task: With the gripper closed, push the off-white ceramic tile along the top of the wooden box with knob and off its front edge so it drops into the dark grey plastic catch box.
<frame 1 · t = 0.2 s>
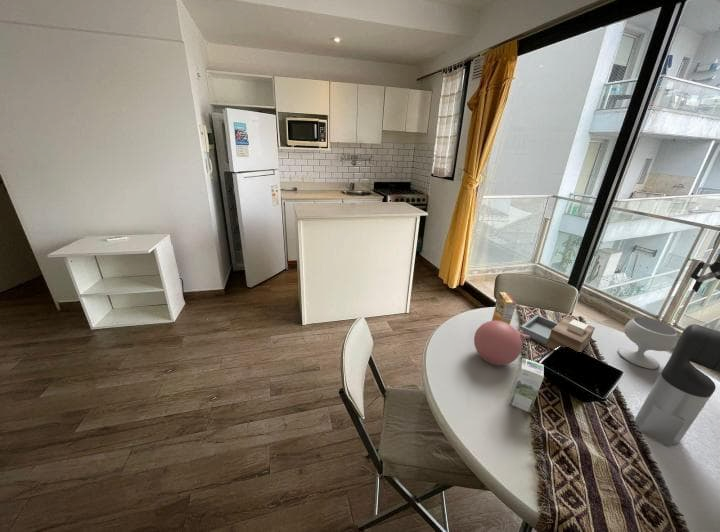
hand: (714, 296, 97), 29 cm above the table, tool pointing down, fingers open, 8 cm apart
catch box: (539, 332, 124), on the table
syrup box: (519, 403, 89), on the table
pink egg-shaped ball: (498, 359, 107), on the table
candy box: (498, 328, 126), on the table
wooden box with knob: (567, 345, 117), on the table
tile: (576, 329, 113), point 8 cm above the table, touching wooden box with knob
chalice: (637, 358, 111), on the table
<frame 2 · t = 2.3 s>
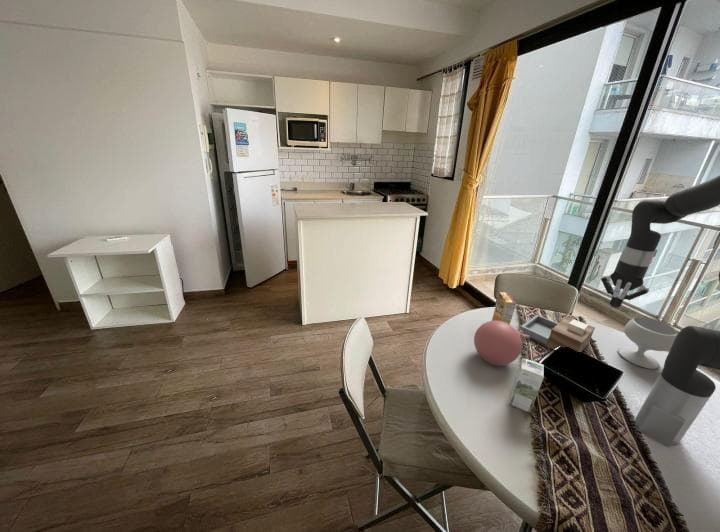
hand: (614, 306, 102), 22 cm above the table, tool pointing down, fingers closed
nothing on the table moved.
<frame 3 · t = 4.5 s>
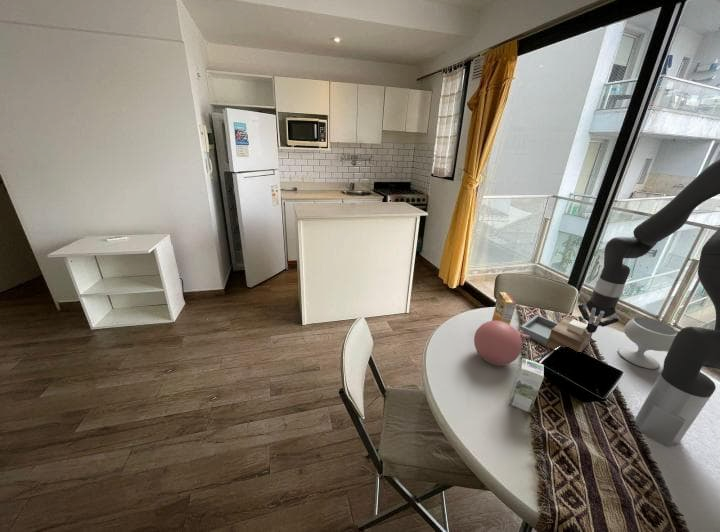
hand: (590, 331, 110), 9 cm above the table, tool pointing down, fingers closed
tile: (576, 329, 113), point 8 cm above the table, touching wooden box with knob, gripper
everything else where it was.
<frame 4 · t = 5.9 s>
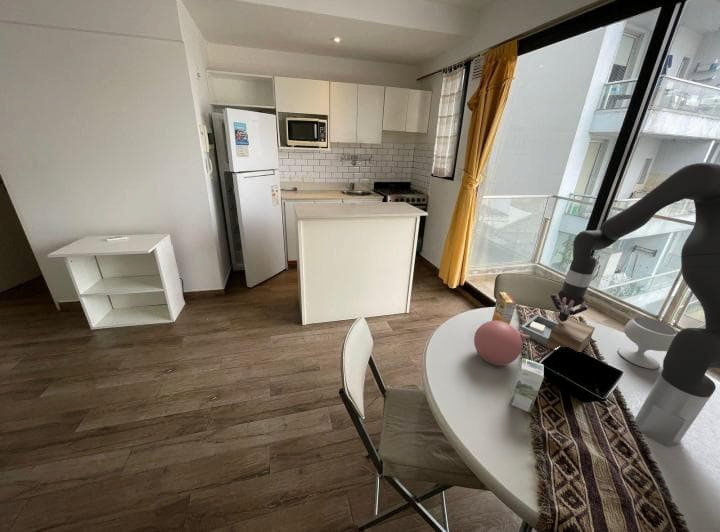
hand: (562, 320, 116), 9 cm above the table, tool pointing down, fingers closed
tile: (537, 325, 123), point 3 cm above the table, tilted 180°, touching catch box
everything else where it was.
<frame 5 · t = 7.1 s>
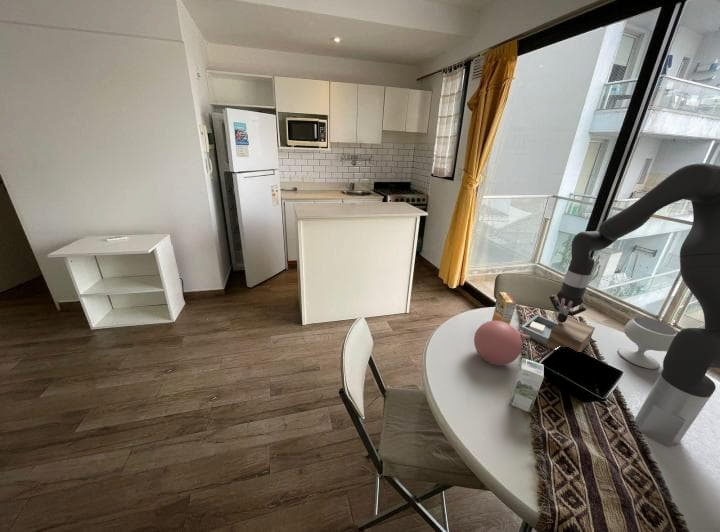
hand: (561, 321, 116), 9 cm above the table, tool pointing down, fingers closed
nothing on the table moved.
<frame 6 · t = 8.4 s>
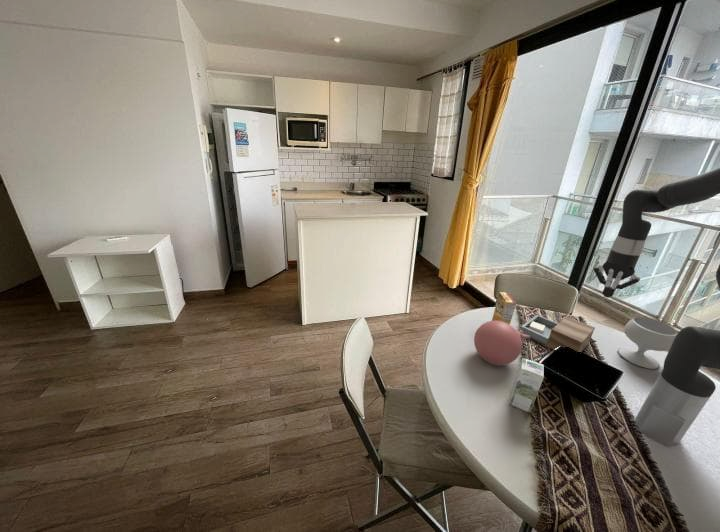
hand: (606, 296, 103), 25 cm above the table, tool pointing down, fingers closed
nothing on the table moved.
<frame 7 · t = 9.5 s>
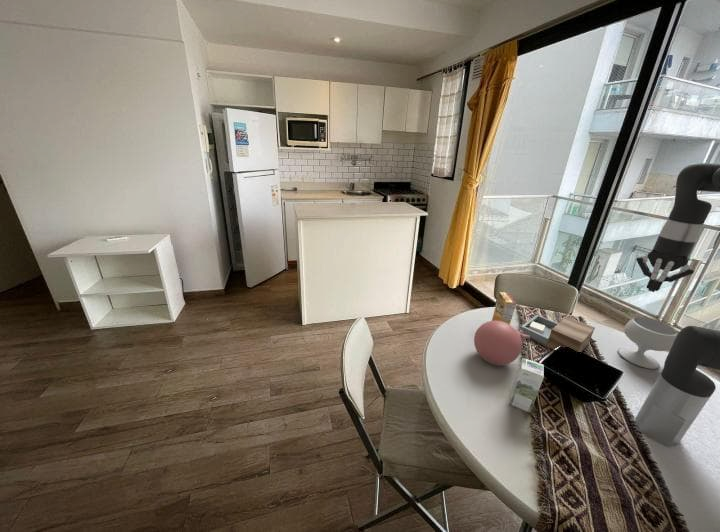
hand: (651, 290, 90), 33 cm above the table, tool pointing down, fingers closed
nothing on the table moved.
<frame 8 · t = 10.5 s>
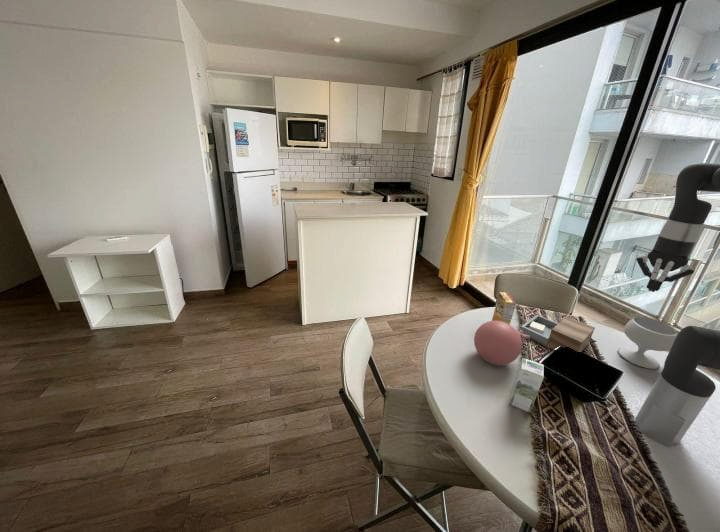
hand: (651, 290, 90), 33 cm above the table, tool pointing down, fingers closed
nothing on the table moved.
at the end: tile inside the target area (2.3 cm from its centre), point 3.3 cm above the table; tile touching catch box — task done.
